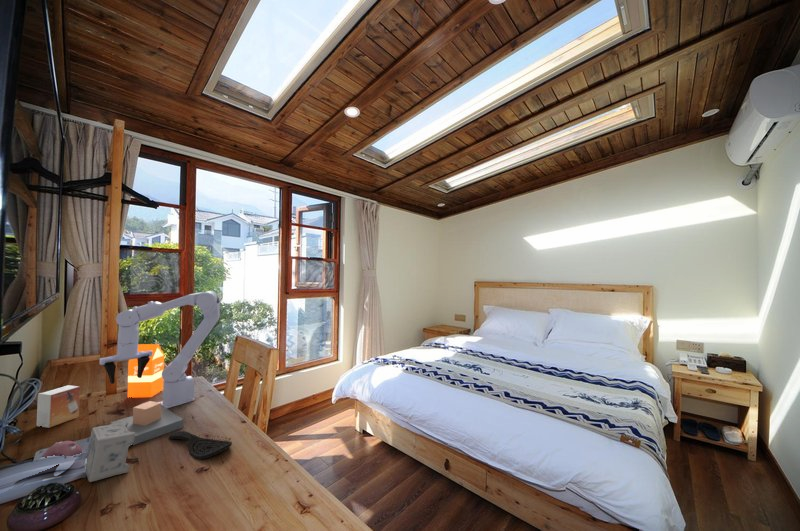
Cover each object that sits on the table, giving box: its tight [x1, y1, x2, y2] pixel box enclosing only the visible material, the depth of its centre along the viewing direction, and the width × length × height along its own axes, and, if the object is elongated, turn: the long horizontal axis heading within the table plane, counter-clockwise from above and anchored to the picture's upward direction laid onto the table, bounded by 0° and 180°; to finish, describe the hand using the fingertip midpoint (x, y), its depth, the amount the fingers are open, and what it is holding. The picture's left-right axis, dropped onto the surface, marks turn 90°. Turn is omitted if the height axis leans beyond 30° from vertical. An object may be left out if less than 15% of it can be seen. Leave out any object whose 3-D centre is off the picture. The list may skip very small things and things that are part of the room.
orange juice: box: [127, 343, 165, 399], centre depth 126 cm, size 8×9×20 cm
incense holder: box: [85, 422, 135, 483], centre depth 79 cm, size 10×8×10 cm
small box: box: [36, 384, 81, 429], centre depth 103 cm, size 8×6×10 cm
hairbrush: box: [168, 430, 233, 460], centre depth 90 cm, size 8×4×25 cm
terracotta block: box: [132, 400, 162, 426], centre depth 99 cm, size 5×5×5 cm
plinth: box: [109, 406, 184, 446], centre depth 99 cm, size 14×16×2 cm
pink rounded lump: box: [40, 440, 83, 458], centre depth 80 cm, size 10×5×7 cm, turn 72°
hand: (126, 380), depth 113 cm, fingers open, 7 cm apart
